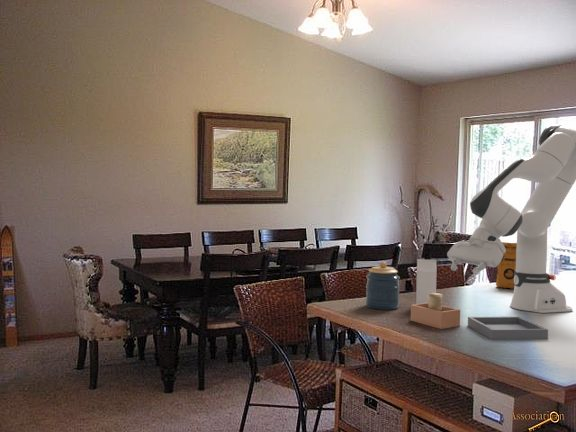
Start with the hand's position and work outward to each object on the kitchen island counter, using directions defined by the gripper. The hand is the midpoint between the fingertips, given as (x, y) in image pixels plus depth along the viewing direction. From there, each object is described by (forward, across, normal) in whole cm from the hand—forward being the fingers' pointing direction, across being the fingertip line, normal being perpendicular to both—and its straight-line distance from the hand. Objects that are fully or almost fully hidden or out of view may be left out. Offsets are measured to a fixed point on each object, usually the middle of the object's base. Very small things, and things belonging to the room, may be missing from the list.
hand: (463, 271), depth 198 cm
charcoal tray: (+14, +19, +11) cm, 26 cm away
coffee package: (-41, -33, +66) cm, 85 cm away
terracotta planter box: (+21, -2, +4) cm, 21 cm away
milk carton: (+10, -20, +15) cm, 27 cm away
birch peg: (+21, -2, +4) cm, 21 cm away
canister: (+18, -31, +7) cm, 37 cm away
